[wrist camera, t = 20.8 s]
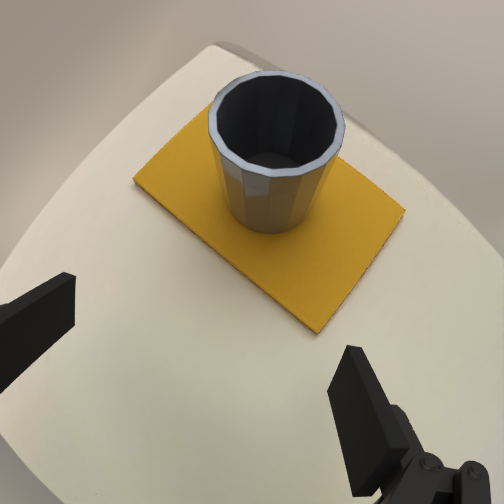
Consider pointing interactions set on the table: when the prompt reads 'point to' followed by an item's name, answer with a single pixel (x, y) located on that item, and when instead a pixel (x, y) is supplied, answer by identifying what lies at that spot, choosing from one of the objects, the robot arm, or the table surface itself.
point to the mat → (283, 244)
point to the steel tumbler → (273, 147)
